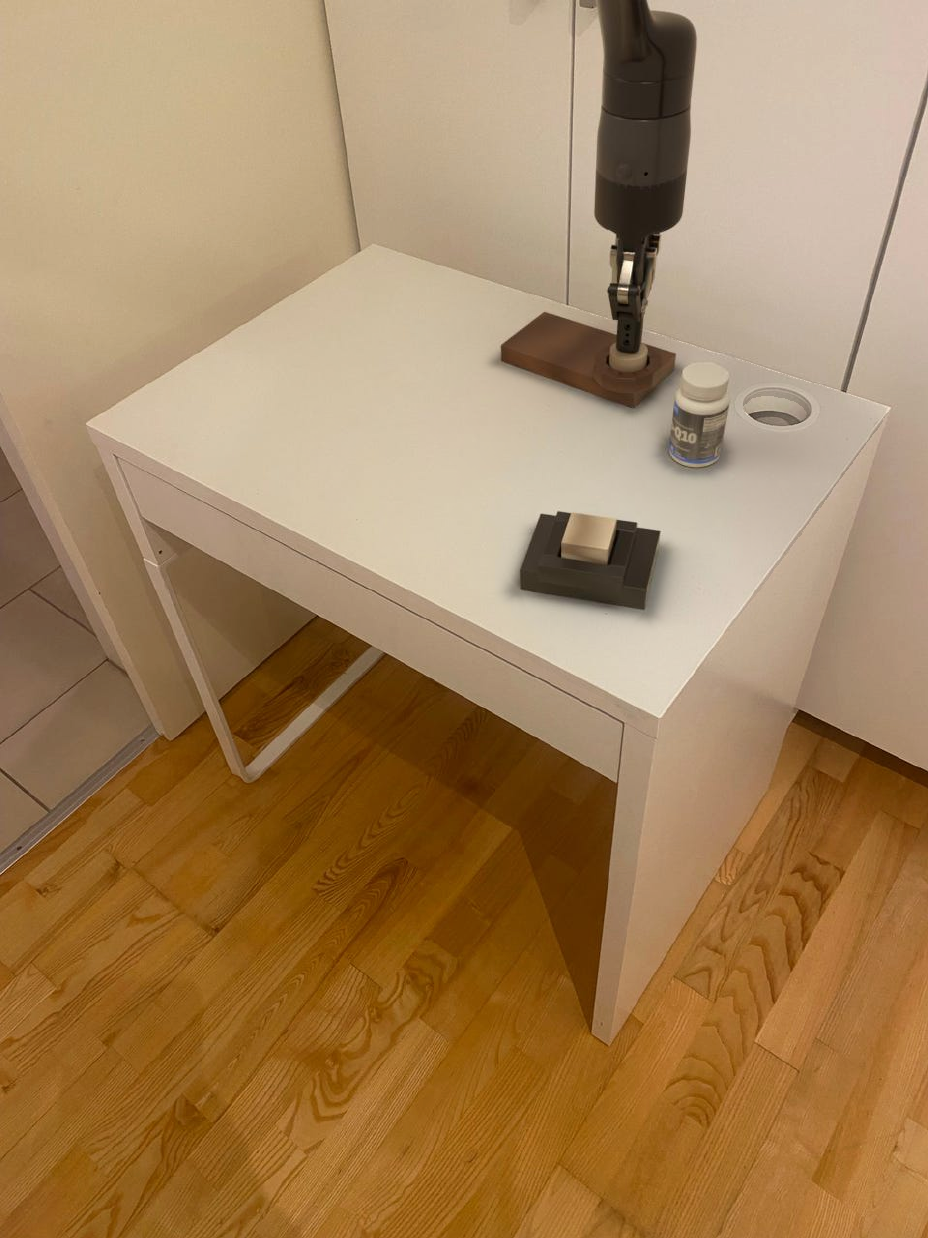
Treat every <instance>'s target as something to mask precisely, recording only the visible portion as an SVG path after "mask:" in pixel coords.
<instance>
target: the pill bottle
mask: <svg viewBox="0 0 928 1238" xmlns="http://www.w3.org/2000/svg"><path fill="white" fill-rule="evenodd" d="M729 382H730V373H729V371H728V369H726V368H725V367H724V366H723V365H721V364H718V363H716V362H713V361H712V362H711V361H696V362H691V363H689V364H688V365H687V366H685V367H684V368H683V369H682V372H681V377H680V383H679V385H680V386H679V387H678V388H677V390H676V392H675V395H674V399H673V400H674V401H673V410H672V416H671V417H672V418H671V424H670V426H671V427H670V433H669V441H668V442H669V443H668V454H669V455H670V457H671V458H672V459H673V460H674V462H676V463H678V464H680V465H682V466H684V467H689V468H703V467H707V466H710V465H712V464H714V463H716V462H717V461H718V460H719V458H720V456H721V454H722V449H723V443H724V438H725V431H726V425H727V418H728V414H729V408H730V402H731V397H730V393H729V391H728V389H729Z"/></svg>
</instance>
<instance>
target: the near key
mask: <svg viewBox="0 0 928 1238" xmlns="http://www.w3.org/2000/svg"><path fill="white" fill-rule="evenodd" d="M570 513H571V515H570V518H569V521H568V524H567V527H566V530H565V533H564V536H563V539H562V542H561V558H567V559H574V560H580V561H587V562H593V563H599V564H606V565H607V564H608V561H609V557H610V553H611V550H612V546H613V543H614V539H615V536H616V523H617V520H618V519H617V518H613V517H607V516H606V517H605V516H600V515H592V514H585V513H577V512H570Z"/></svg>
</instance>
